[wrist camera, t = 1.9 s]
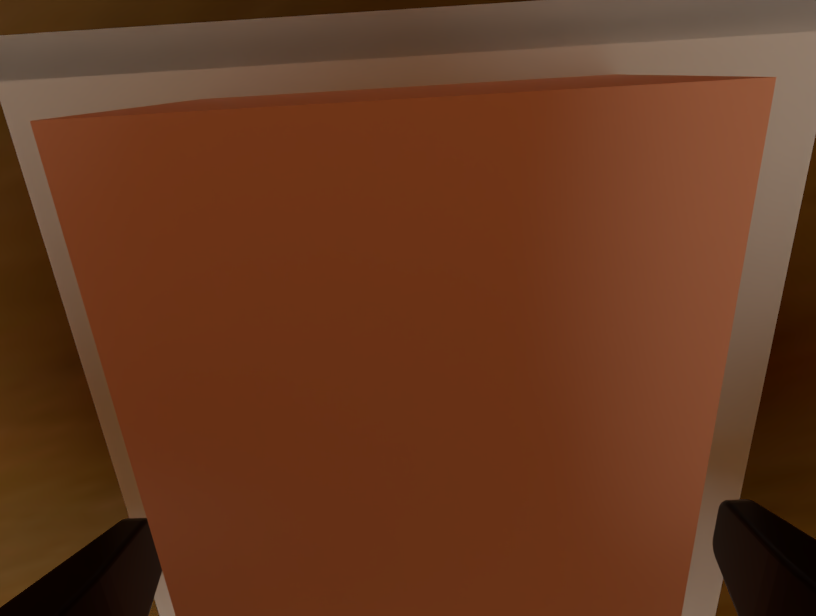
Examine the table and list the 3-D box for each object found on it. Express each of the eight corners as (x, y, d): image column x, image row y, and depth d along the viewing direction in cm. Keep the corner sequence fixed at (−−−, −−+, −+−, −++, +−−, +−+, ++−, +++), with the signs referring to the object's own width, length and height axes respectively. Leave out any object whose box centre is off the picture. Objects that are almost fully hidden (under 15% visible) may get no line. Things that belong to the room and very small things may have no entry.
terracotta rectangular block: (615, 74, 8) (776, 77, 4) (568, 684, 13) (626, 925, 9) (201, 99, 8) (29, 120, 5) (309, 689, 13) (267, 925, 10)
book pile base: (748, 1, 10) (847, -20, 8) (654, 616, 16) (695, 711, 13) (77, 44, 10) (-20, 36, 8) (224, 626, 16) (191, 719, 14)
